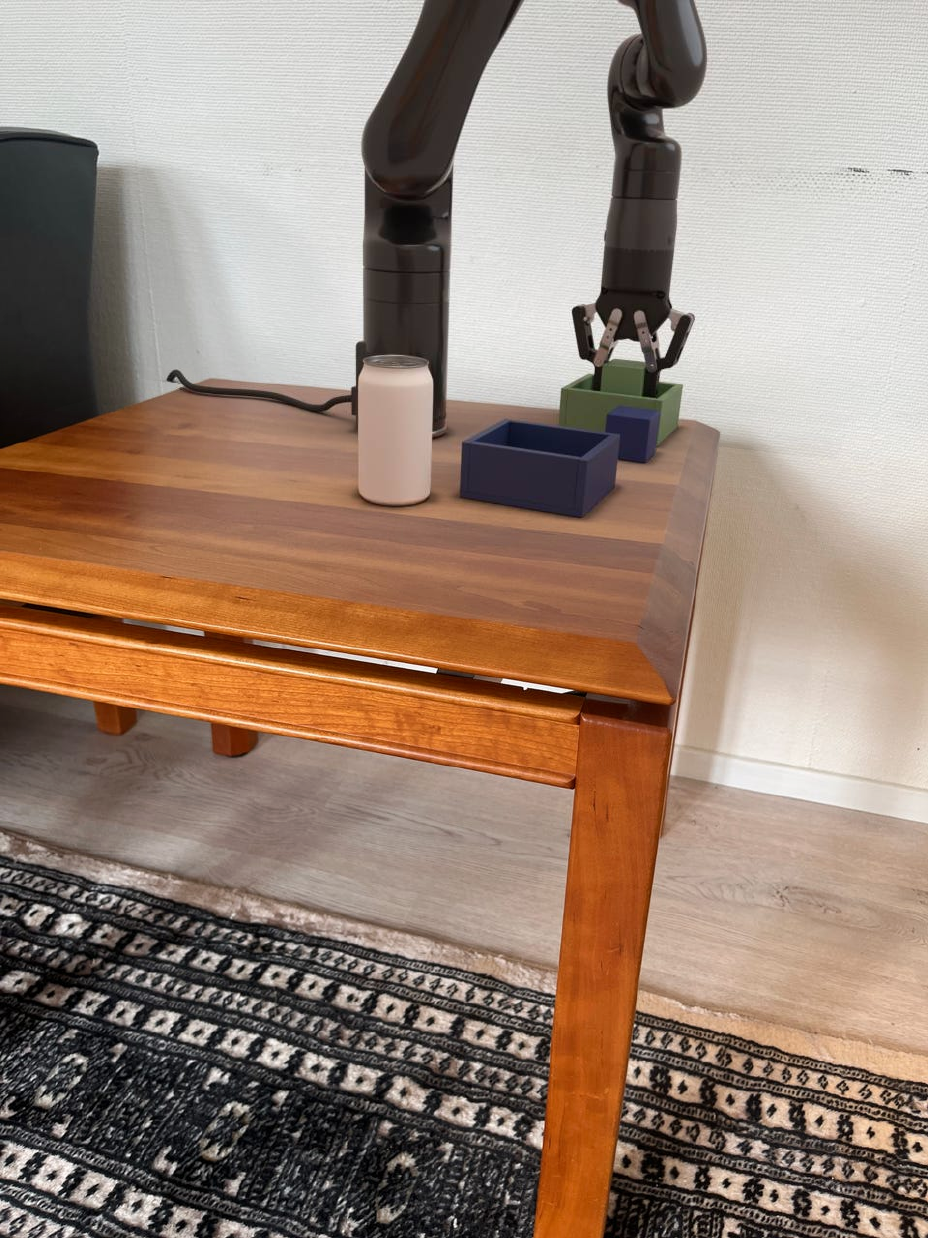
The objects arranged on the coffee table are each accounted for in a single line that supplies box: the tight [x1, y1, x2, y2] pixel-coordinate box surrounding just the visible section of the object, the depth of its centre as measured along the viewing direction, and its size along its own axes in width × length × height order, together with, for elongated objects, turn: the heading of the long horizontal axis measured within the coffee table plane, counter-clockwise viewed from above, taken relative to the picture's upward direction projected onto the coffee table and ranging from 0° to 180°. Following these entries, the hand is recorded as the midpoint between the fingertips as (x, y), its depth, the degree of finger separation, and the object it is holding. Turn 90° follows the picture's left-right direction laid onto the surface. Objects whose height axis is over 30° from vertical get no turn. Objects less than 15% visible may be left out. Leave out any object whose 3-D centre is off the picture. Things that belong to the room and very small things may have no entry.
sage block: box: [600, 358, 647, 397], centre depth 113 cm, size 5×5×5 cm
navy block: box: [605, 406, 660, 464], centre depth 104 cm, size 5×5×5 cm
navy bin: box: [459, 418, 620, 518], centre depth 91 cm, size 12×11×5 cm
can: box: [357, 355, 433, 507], centre depth 86 cm, size 6×6×12 cm
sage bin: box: [557, 372, 684, 448], centre depth 114 cm, size 12×11×5 cm
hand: (623, 400), depth 114 cm, fingers closed on sage block, 4 cm apart
